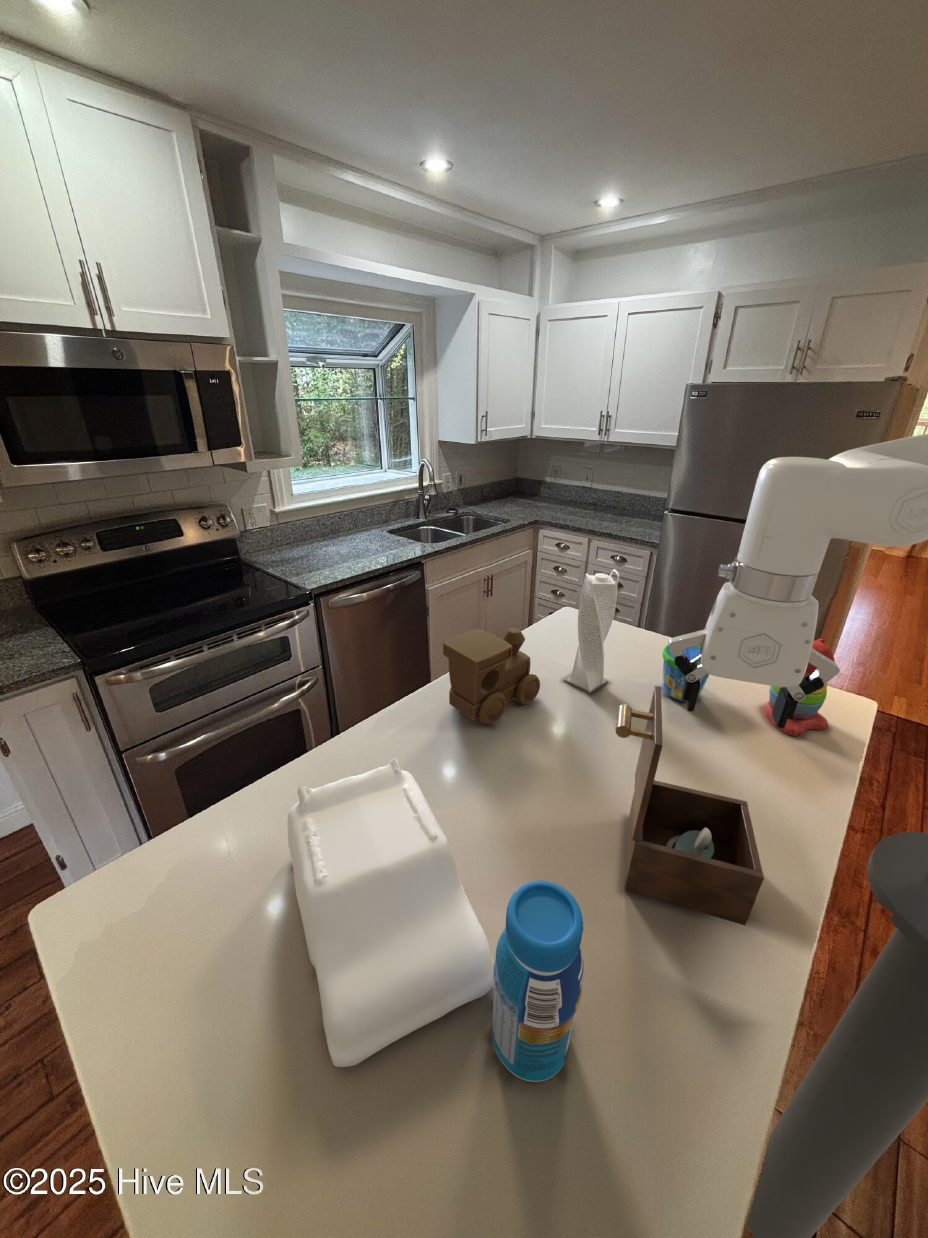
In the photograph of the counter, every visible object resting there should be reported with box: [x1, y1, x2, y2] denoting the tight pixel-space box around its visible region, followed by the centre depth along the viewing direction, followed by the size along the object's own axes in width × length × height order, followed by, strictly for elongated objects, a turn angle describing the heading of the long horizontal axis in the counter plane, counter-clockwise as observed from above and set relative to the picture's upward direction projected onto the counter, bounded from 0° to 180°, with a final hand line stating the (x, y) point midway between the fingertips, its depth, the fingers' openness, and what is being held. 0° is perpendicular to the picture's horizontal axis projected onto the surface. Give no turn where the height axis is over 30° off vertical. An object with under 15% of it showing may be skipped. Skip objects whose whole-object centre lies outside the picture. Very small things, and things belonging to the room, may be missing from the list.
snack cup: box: [662, 643, 710, 703], centre depth 108 cm, size 16×10×10 cm
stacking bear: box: [763, 638, 836, 737], centre depth 99 cm, size 11×10×18 cm
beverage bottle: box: [490, 879, 585, 1083], centre depth 48 cm, size 8×8×20 cm
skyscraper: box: [563, 568, 621, 694], centre depth 107 cm, size 8×8×28 cm
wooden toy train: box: [442, 627, 541, 726], centre depth 102 cm, size 20×11×17 cm, turn 132°
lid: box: [615, 685, 664, 842], centre depth 66 cm, size 16×13×5 cm
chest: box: [624, 779, 765, 926], centre depth 69 cm, size 15×13×9 cm
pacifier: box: [666, 828, 714, 858], centre depth 70 cm, size 7×6×6 cm
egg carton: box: [287, 757, 495, 1068], centre depth 61 cm, size 19×30×13 cm, turn 26°
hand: (732, 713), depth 60 cm, fingers open, 9 cm apart
